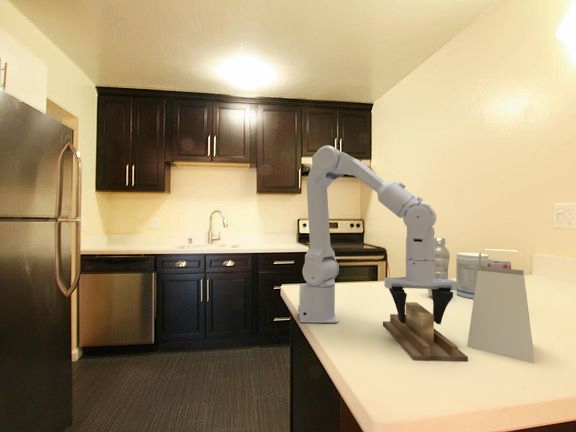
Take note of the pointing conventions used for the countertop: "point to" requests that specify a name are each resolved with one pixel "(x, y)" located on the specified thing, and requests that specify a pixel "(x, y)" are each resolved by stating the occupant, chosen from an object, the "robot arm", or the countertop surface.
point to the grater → (501, 313)
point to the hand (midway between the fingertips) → (419, 322)
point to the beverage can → (499, 263)
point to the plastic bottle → (440, 260)
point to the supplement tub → (468, 272)
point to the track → (423, 343)
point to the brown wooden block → (420, 321)
